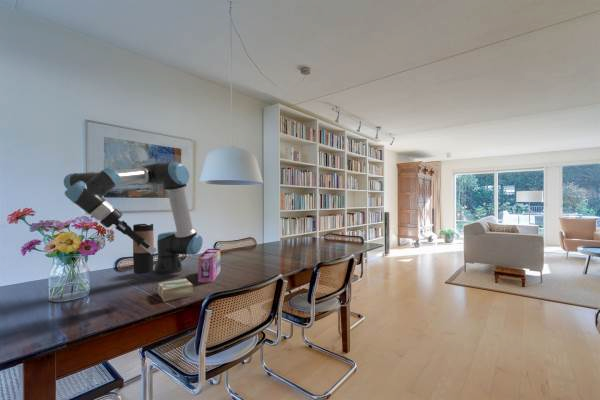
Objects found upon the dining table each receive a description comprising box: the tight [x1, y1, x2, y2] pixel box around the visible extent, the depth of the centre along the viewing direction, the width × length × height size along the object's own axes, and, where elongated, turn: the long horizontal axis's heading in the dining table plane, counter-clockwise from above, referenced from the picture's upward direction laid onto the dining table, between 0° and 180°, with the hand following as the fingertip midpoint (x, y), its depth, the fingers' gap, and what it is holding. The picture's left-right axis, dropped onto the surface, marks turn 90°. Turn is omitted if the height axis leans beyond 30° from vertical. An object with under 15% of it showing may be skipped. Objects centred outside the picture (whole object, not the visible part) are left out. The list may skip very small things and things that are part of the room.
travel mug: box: [132, 223, 155, 275], centre depth 119 cm, size 8×8×20 cm
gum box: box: [197, 248, 222, 283], centre depth 156 cm, size 24×8×14 cm, turn 6°
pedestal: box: [157, 278, 194, 302], centre depth 127 cm, size 12×12×5 cm
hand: (152, 250), depth 121 cm, fingers closed on travel mug, 7 cm apart
